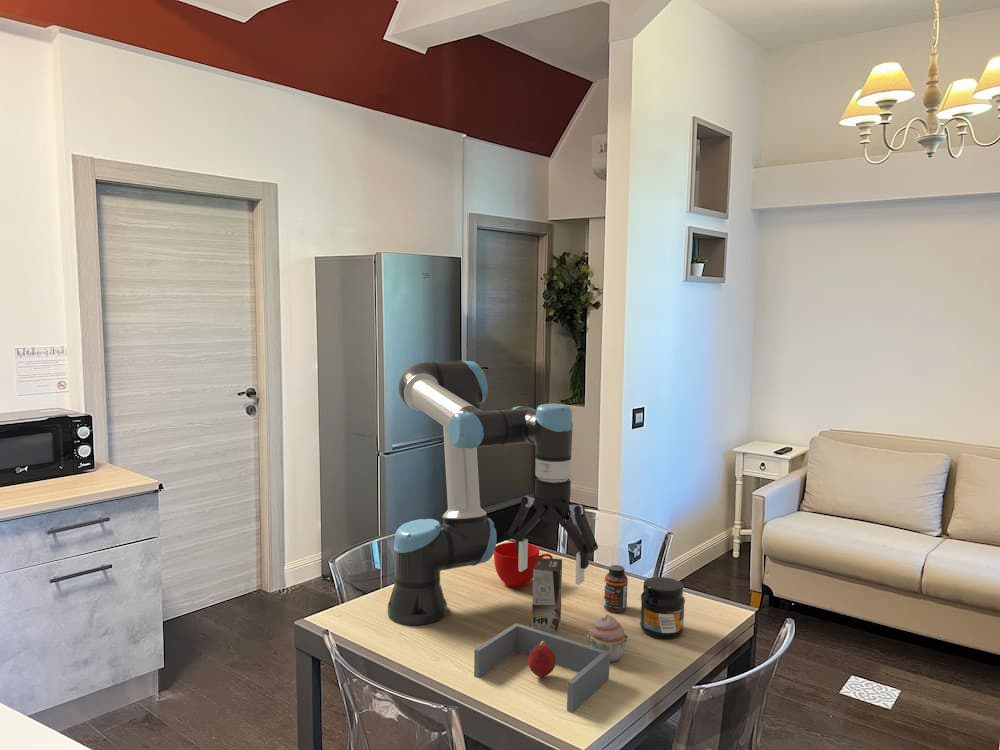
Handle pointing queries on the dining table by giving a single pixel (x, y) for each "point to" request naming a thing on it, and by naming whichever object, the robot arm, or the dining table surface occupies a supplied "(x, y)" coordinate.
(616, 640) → the cupcake
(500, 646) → the open u-shaped frame
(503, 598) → the dining table surface
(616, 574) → the supplement bottle
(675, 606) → the supplement container
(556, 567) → the coffee box
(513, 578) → the ceramic cup
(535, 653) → the onion
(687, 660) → the dining table surface
